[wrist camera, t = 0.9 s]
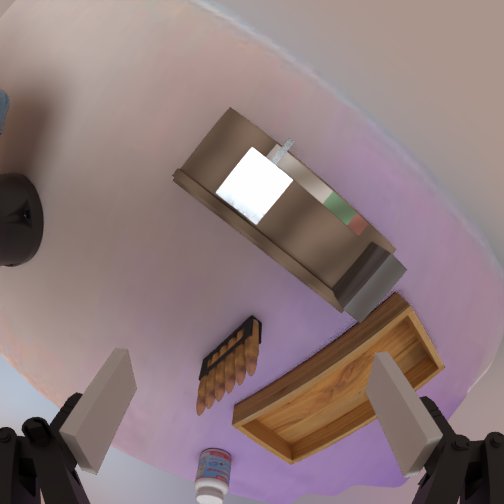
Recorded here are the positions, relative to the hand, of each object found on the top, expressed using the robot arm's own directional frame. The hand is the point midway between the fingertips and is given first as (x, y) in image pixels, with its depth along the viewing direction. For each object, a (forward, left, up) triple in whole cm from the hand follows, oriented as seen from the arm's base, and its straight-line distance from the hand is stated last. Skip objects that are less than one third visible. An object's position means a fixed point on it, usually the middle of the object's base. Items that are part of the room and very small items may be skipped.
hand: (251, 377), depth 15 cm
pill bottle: (+19, -36, -25) cm, 48 cm away
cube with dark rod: (-6, +9, -22) cm, 25 cm away
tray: (+23, -8, -25) cm, 35 cm away
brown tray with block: (0, +7, -25) cm, 26 cm away
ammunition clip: (+5, -12, -25) cm, 28 cm away
